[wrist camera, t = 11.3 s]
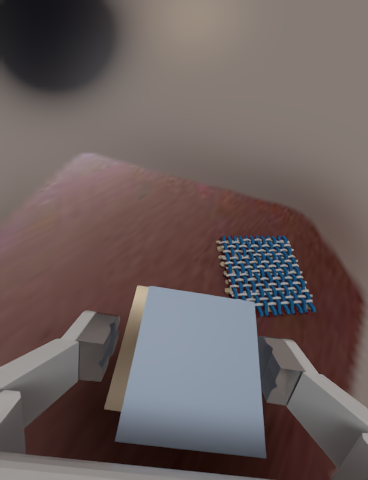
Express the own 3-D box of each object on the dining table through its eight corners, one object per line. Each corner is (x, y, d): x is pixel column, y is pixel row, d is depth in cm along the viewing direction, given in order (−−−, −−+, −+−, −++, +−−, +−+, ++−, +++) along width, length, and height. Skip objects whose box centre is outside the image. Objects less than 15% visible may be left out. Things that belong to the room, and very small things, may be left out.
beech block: (207, 402, 16) (225, 426, 12) (119, 389, 16) (103, 409, 11) (212, 308, 20) (227, 300, 16) (142, 297, 20) (137, 285, 15)
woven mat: (279, 238, 27) (288, 231, 25) (309, 314, 21) (322, 312, 20) (213, 239, 25) (217, 231, 23) (227, 320, 20) (234, 319, 18)
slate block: (198, 382, 12) (266, 458, 5) (142, 375, 12) (114, 441, 4) (202, 321, 14) (254, 302, 7) (154, 314, 14) (149, 285, 6)
